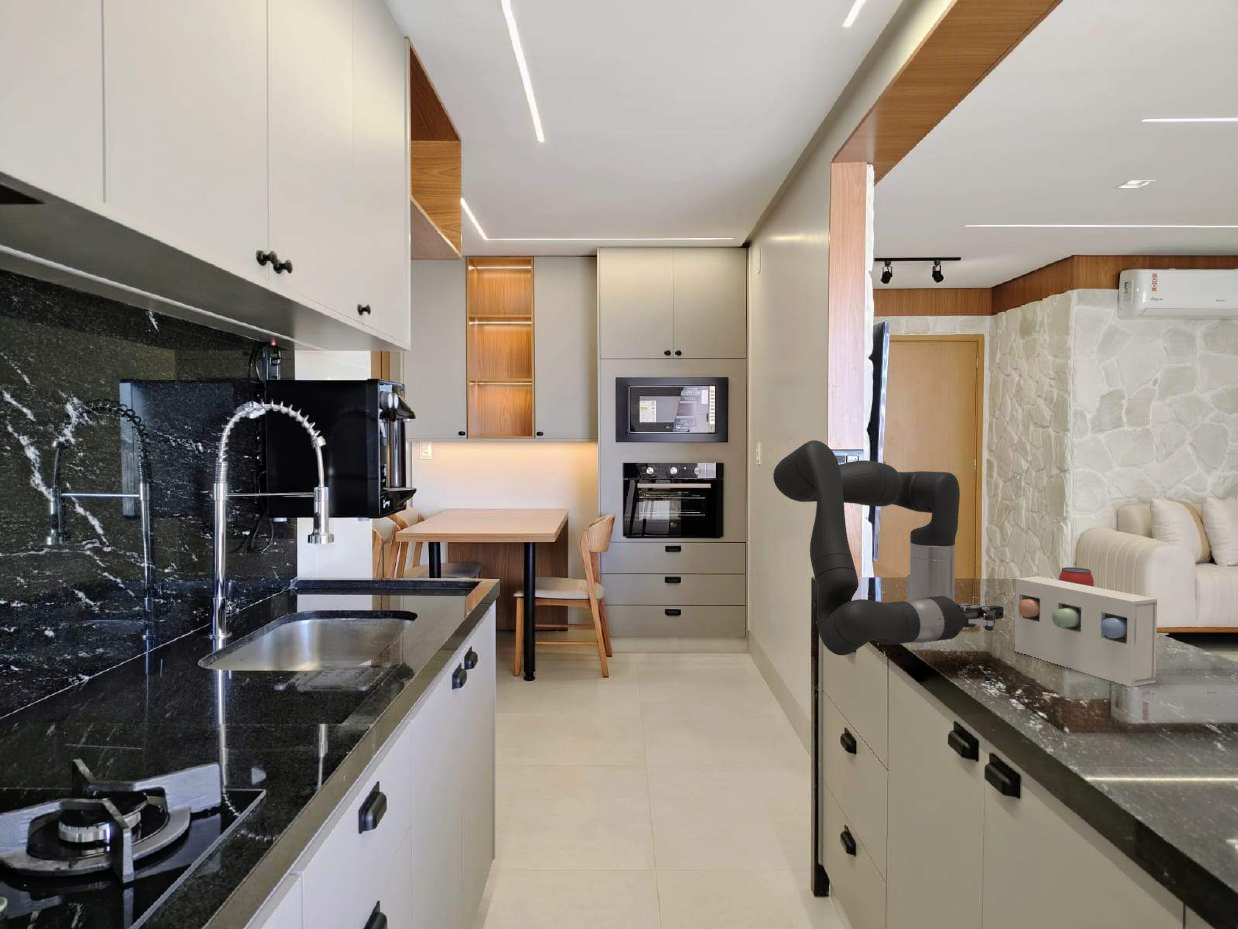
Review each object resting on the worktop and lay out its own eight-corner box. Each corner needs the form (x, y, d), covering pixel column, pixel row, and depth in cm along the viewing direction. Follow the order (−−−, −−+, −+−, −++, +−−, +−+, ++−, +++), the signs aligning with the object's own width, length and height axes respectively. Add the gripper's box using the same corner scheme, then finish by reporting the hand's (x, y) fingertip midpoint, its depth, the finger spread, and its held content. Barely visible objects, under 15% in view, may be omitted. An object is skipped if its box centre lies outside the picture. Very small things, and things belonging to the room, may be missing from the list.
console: (1014, 651, 142) (1015, 578, 142) (1037, 648, 144) (1038, 576, 144) (1130, 687, 122) (1132, 601, 121) (1155, 682, 124) (1157, 598, 123)
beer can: (1060, 625, 162) (1061, 570, 162) (1055, 619, 168) (1056, 566, 168) (1096, 628, 159) (1097, 572, 159) (1089, 621, 166) (1090, 567, 165)
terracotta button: (1018, 615, 140) (1018, 598, 140) (1032, 613, 142) (1032, 596, 141) (1033, 618, 137) (1033, 601, 137) (1047, 617, 139) (1047, 600, 138)
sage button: (1051, 625, 132) (1052, 607, 132) (1066, 623, 134) (1066, 605, 134) (1068, 629, 129) (1068, 611, 129) (1083, 627, 131) (1083, 609, 131)
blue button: (1100, 635, 125) (1100, 616, 125) (1115, 633, 127) (1115, 615, 127) (1119, 640, 122) (1119, 621, 122) (1134, 638, 124) (1134, 619, 124)
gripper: (956, 605, 123) (1032, 598, 130) (899, 591, 136) (971, 584, 142) (955, 651, 124) (1031, 641, 130) (898, 632, 136) (970, 624, 142)
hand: (999, 611), depth 136 cm, fingers closed
